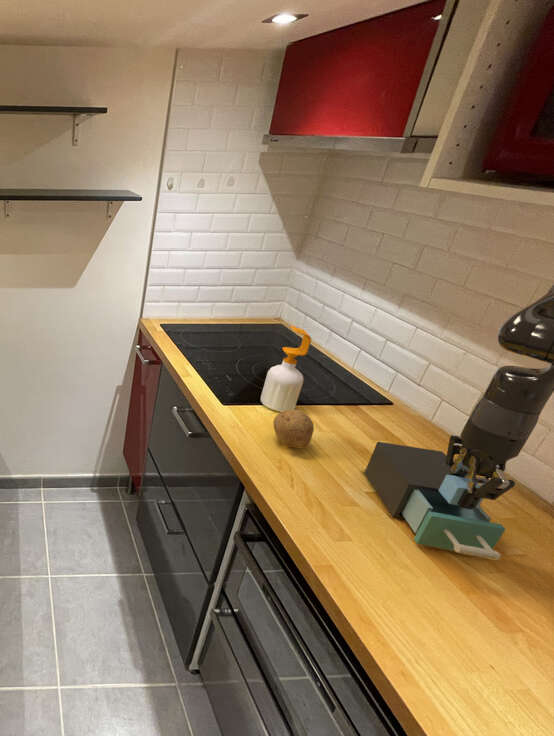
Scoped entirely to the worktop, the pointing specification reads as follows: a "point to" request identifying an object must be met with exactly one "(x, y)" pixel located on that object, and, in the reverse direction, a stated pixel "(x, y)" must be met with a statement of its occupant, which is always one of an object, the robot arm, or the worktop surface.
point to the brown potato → (293, 428)
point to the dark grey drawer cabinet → (404, 473)
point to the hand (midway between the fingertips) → (458, 498)
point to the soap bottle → (285, 378)
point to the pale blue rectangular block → (454, 488)
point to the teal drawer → (451, 525)
